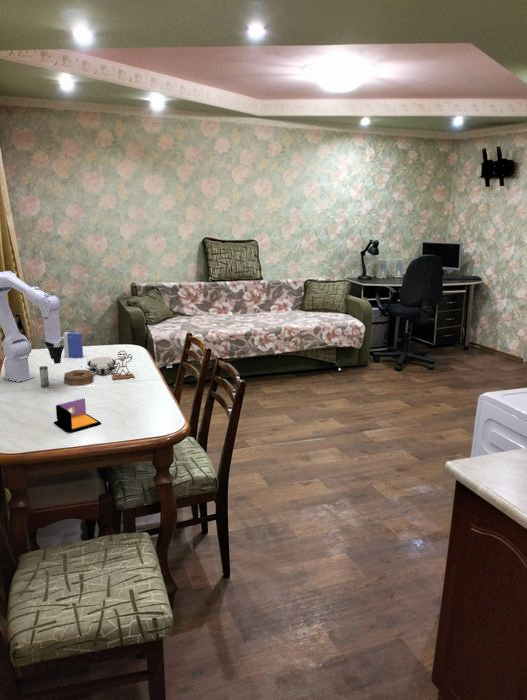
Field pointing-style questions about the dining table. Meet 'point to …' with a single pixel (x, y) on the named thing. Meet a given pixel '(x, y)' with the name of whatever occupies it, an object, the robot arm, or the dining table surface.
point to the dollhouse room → (74, 416)
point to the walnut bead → (78, 377)
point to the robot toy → (101, 365)
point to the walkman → (73, 345)
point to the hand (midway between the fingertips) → (55, 361)
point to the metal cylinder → (44, 376)
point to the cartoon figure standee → (126, 375)
